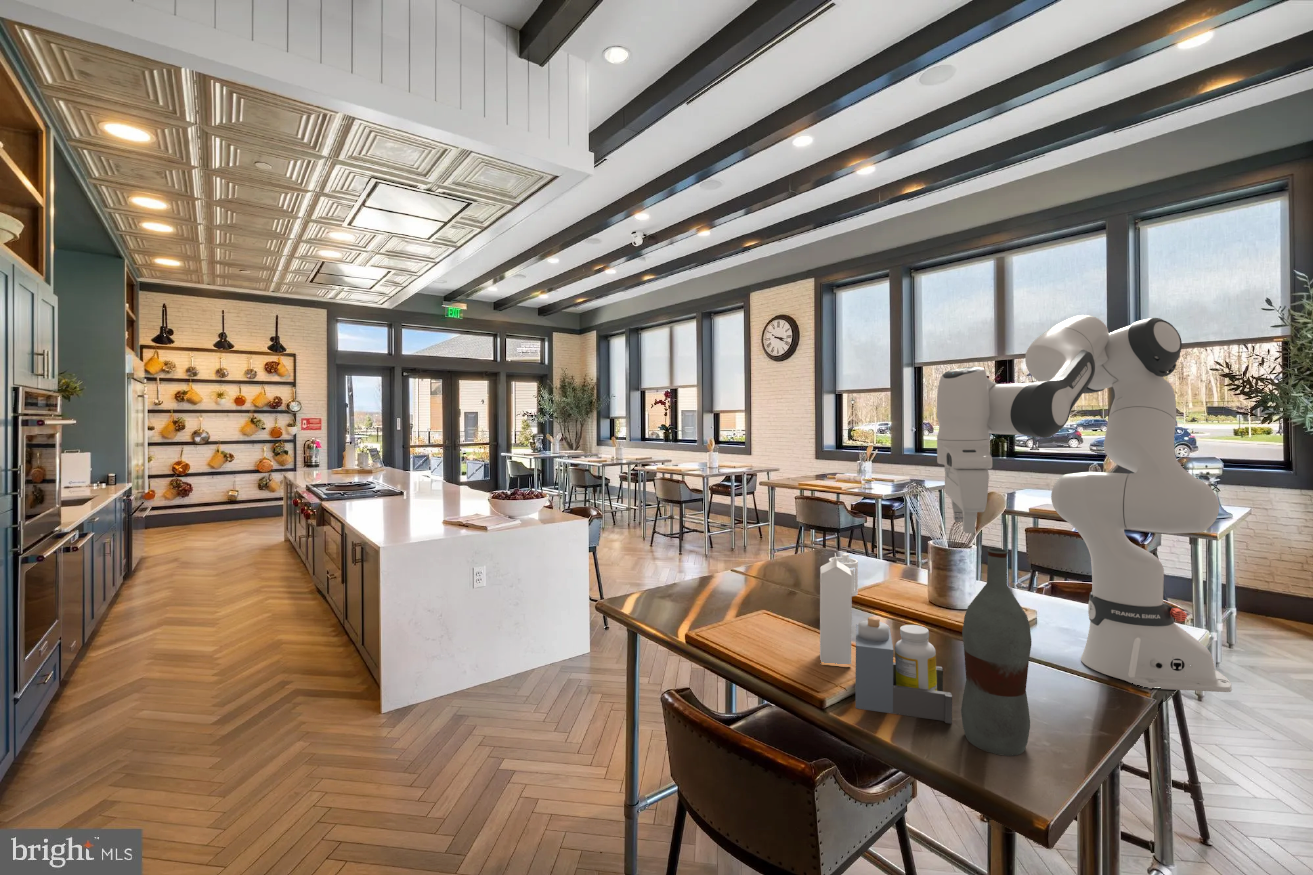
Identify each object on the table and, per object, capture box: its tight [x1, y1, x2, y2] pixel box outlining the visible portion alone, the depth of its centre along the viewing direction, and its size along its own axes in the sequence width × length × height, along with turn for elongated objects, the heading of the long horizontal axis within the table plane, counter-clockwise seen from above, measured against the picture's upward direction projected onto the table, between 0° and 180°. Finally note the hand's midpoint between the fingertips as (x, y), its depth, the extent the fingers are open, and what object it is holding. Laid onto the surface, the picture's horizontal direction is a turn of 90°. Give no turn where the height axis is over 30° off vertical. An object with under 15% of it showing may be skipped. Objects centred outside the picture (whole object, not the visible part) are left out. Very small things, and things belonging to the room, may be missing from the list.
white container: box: [828, 553, 859, 597], centre depth 151 cm, size 7×7×15 cm
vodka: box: [960, 547, 1032, 757], centre depth 91 cm, size 9×9×30 cm
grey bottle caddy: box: [855, 616, 953, 725], centre depth 106 cm, size 15×15×14 cm
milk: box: [819, 552, 853, 665], centre depth 122 cm, size 6×6×22 cm
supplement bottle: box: [894, 624, 937, 691], centre depth 105 cm, size 7×7×13 cm
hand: (963, 526), depth 112 cm, fingers open, 8 cm apart
